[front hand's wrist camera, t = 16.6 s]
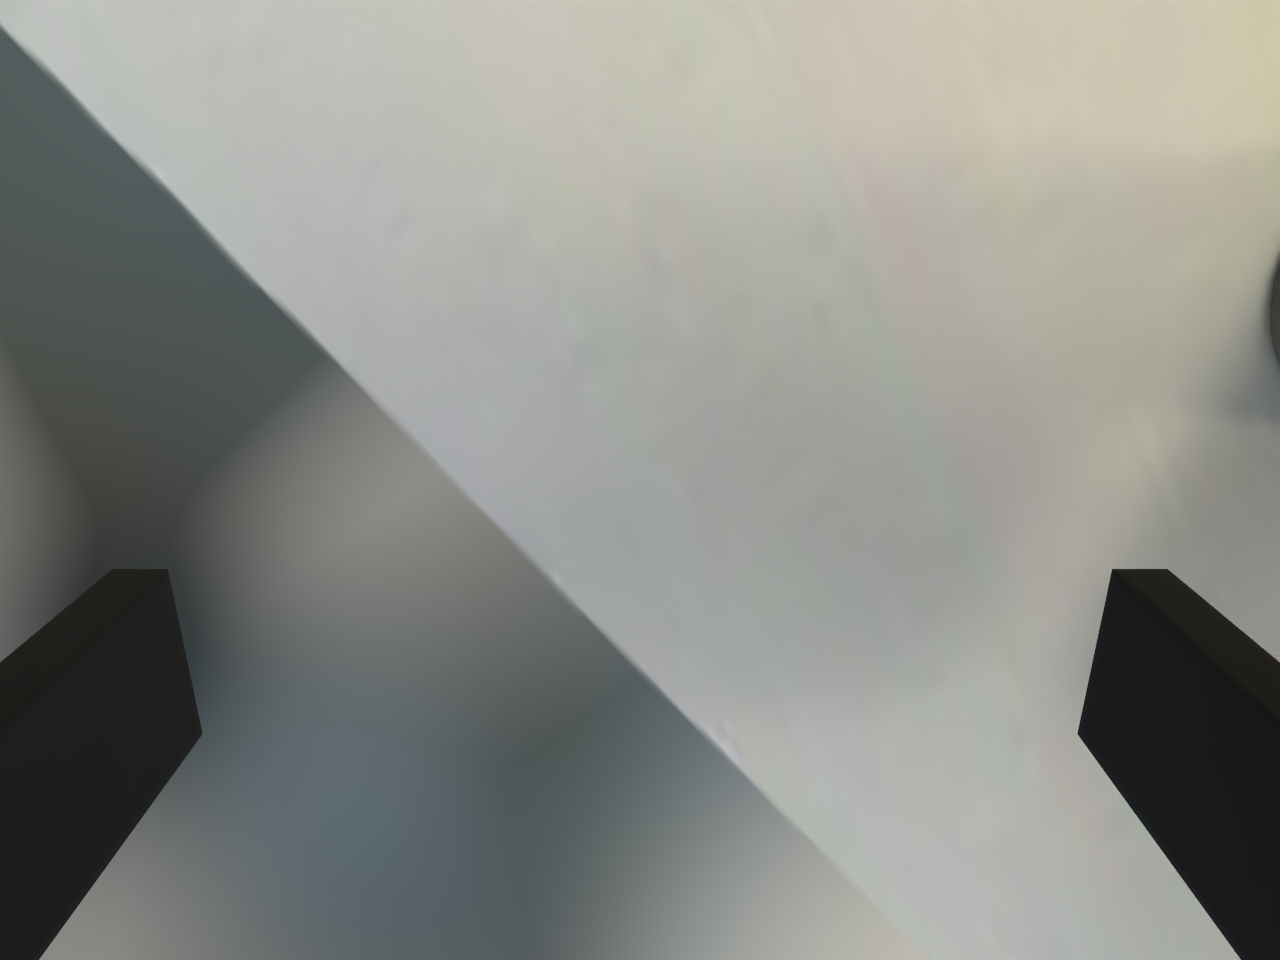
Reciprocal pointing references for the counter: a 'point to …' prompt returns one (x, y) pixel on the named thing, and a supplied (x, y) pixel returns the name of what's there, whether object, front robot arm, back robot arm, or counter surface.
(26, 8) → the counter surface
